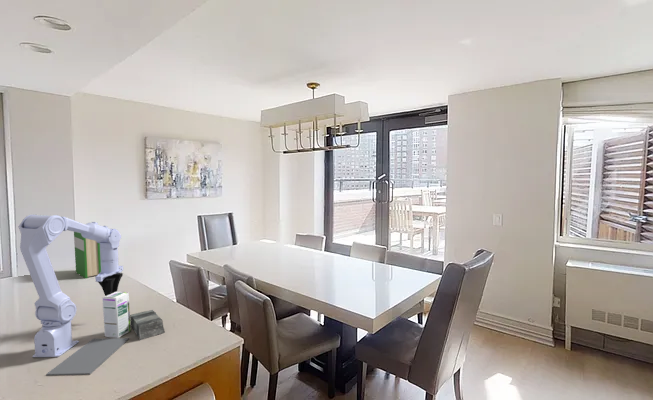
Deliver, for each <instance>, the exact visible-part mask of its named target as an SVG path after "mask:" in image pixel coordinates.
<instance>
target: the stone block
mask: <svg viewBox="0 0 653 400" xmlns="http://www.w3.org/2000/svg"><path fill="white" fill-rule="evenodd" d="M163 322H164V321H163V319H162V318H161V317H160V316H159V315H158V314H157V312H155V310H154V309H150V310H145V311H141V312H135V313H133V314H130V325H131V330H133V332H134V333H135V335H136V336H137V337H138V340H139V341H142V340H145V339H149V338H152V337H154V336H158V335H160V334H165V333H166V331H165V328H164V323H163Z"/></svg>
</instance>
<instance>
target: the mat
mask: <svg viewBox="0 0 653 400" xmlns="http://www.w3.org/2000/svg"><path fill="white" fill-rule="evenodd" d="M129 340H130V337H120V338H111V337H106V338H105V337H104V338H91V340H89V341H88V342H87V343H86V344H84V345H83V346H82V347H80V348H79V349H77V350H76V351H75V352H73V353H72V354H71V355H69V356H68V357H66V359H64V360H62V361H61V362H60V363H58V364H57V365H56V366H55V367H53V368H52V369H51V370H49V372H47V373H46V374H45V375H46V376H77V375H78V376H80V375H81V376H83V375H85V374H86V375H85V376H87V374H88V375H91V374H92V373H93V372H95V371H96V370H97V369H98V368H99V367H100V366H101V365H102V364H103V363H105V362H106V360H108V359H109V358H111V356H113V355H114V353H115V352H116V351H118V350H119V349H120V348H121V347H122V346H123V345H124V344H125V343H127V342H128V341H129Z"/></svg>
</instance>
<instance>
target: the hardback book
mask: <svg viewBox="0 0 653 400" xmlns="http://www.w3.org/2000/svg"><path fill="white" fill-rule="evenodd" d="M73 241H74V258H75V259H74V263H75V273H76V272H77V273H76V274H78V275H79V274H80V275H79V276H81V277H82V276H83V277H82V278H84V279H85V278H86V279H89V277H93V276H97V275H98V274H99V273H100V272H101V259H100V243H97V242H96V241H94V240H90V239H87V238H84V237H82V235H81V233H78V232H73Z"/></svg>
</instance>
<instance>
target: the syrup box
mask: <svg viewBox="0 0 653 400" xmlns="http://www.w3.org/2000/svg"><path fill="white" fill-rule="evenodd" d="M129 293H130V292H127V291H117V292H114V293H112V294H110V295H107V296H105V295H104V296H103V297H101V298H102V312H103V324H104V325H103V326H104V327H103V328H104V329H103V330H104V336H105V337H106V338H122V337H123V336H124V335H126V334H128V333H130V332H131V330H132V327H131V321H130V315H131V314H130V313H131V311H130V296H129ZM105 337H104V338H105Z"/></svg>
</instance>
